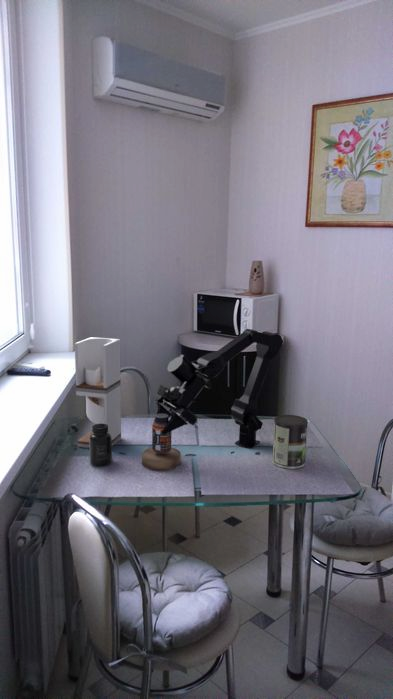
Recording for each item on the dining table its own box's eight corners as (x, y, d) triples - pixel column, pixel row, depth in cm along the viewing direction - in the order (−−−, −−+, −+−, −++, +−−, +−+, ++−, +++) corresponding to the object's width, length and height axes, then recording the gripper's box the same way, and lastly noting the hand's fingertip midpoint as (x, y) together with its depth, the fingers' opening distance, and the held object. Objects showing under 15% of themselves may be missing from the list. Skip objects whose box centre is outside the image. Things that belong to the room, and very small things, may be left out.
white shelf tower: (93, 434, 192) (90, 337, 185) (121, 438, 190) (120, 339, 182) (77, 446, 182) (74, 343, 174) (107, 450, 179) (105, 345, 171)
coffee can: (307, 458, 175) (309, 416, 172) (302, 471, 166) (305, 427, 163) (275, 453, 178) (277, 412, 176) (269, 466, 169) (271, 422, 166)
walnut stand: (157, 452, 178) (157, 443, 178) (188, 460, 172) (188, 452, 171) (133, 464, 168) (133, 455, 168) (164, 474, 162) (164, 464, 161)
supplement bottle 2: (160, 455, 165) (160, 420, 163) (148, 450, 169) (147, 415, 167) (175, 450, 169) (175, 415, 167) (162, 444, 173) (162, 410, 171)
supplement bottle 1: (116, 460, 171) (115, 423, 169) (105, 468, 165) (104, 431, 162) (96, 456, 174) (95, 421, 171) (85, 465, 167) (84, 428, 165)
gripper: (159, 368, 174) (127, 407, 171) (188, 382, 158) (154, 425, 155) (180, 389, 180) (150, 426, 177) (211, 404, 164) (178, 446, 161)
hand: (157, 430), depth 167 cm, fingers closed on supplement bottle 2, 6 cm apart
